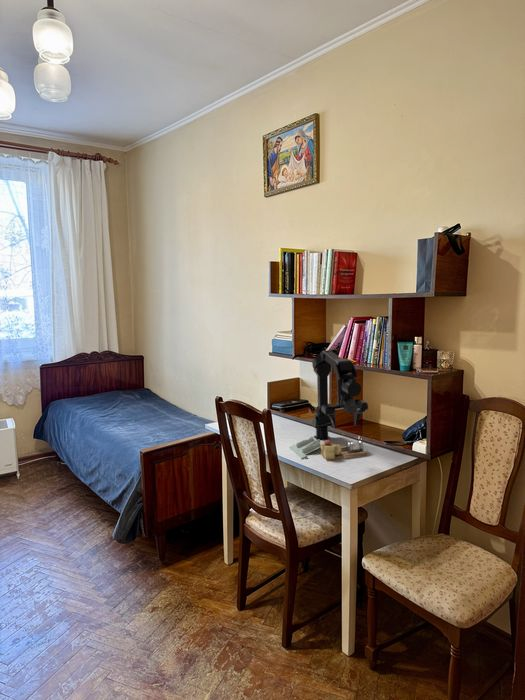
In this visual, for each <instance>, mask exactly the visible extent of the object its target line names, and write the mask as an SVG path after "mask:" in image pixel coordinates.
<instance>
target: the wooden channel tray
mask: <svg viewBox="0 0 525 700" xmlns="http://www.w3.org/2000/svg"><path fill="white" fill-rule="evenodd" d="M320 443H321V448H320V452H319V455H321V457H323V459H324V460H325V461H326V462H327V463H328V462H333V461H340V460H341V461H342V460H348V459H355V458H363V457H368V452H367V451H364V450H363V452H354V453H350V454H348V452H347V450H346V445H345V446H341V445H340V443H338V444H337V443H335V444H333V443H332V441H331V440H330V439H326V440H323V442H320Z"/></svg>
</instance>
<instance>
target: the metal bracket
mask: <svg viewBox="0 0 525 700" xmlns="http://www.w3.org/2000/svg"><path fill="white" fill-rule="evenodd" d="M321 443H322V442H321V440H320V439H318V440H317V439H316V438H315V437H314V436H310V437H309V438H308V439H303V440H301V441H300V442H297V443H295V444H292V445H289V446H288V448H289V450H290V451H292V450H293V451H294V452H295V453H296V454H297V455H298V456H299V457H300V458H302V459H304V458H306V457H307V455H308V454H309V453H312V452H314V451H316V450H318V449H321ZM293 451H292V452H293ZM294 452H293V453H294ZM295 453H294V454H295ZM296 454H295V455H296ZM297 455H296V456H297Z"/></svg>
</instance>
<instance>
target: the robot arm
mask: <svg viewBox="0 0 525 700" xmlns="http://www.w3.org/2000/svg"><path fill="white" fill-rule="evenodd" d="M332 367H333V372H334V374H335V378H336V388H337V391H335V395H337V401H336V405H333V404H332V403H329V394H328V393H329V391H328V390H329V386H328V385H329V384H328V382H329V381H328V378H329V375H330V374H331V372H332ZM312 368H313V372H314V373H315V375H316V376H317V377H316V378H317V379H316V381H317V383H316V384H317V406H316V408H315V409H314V415H313V416H312V419H311V426H312V427H313V428H314V429H315V435H314V436H313V438H315V439H316V440H318V439H320V441H326V440H331V439H332V438H331V437H330V436H329V427H333V428H334V429H337V428H336V427H337V422H336V411H342V410H344V413H347V414H350V413H353V425H354V426H357V425H358V423H359V419H360V417H361V415H362V414H363V413H364V412H366V411H367V410H369V404H368V403H367V402H366V401H365V400H363V399H362V398H357V399H354V397H358V396H359V395H360V394H361V392H362V387H361V386H362V385H361V384H360V383H359V382H357V378H358V372H357V369H356V367H355V364H354V362H353V361H352V360H350V359H348V358H342V357H340V356H339V355H337V354H336V353H334V351H333V350H331V349H329V350H322V351H321V352H320V353H319V354H318V355H316V356H315V357H314V359H313V360H312Z"/></svg>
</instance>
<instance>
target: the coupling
mask: <svg viewBox="0 0 525 700" xmlns="http://www.w3.org/2000/svg"><path fill="white" fill-rule="evenodd" d="M345 446H346V450H347V452H348V454H350V453H354V452H364V449H365V448H364V443H363V441H362V440H361V439H360V440H357V441H352V442H350V441H347V442H346V443H345Z"/></svg>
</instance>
